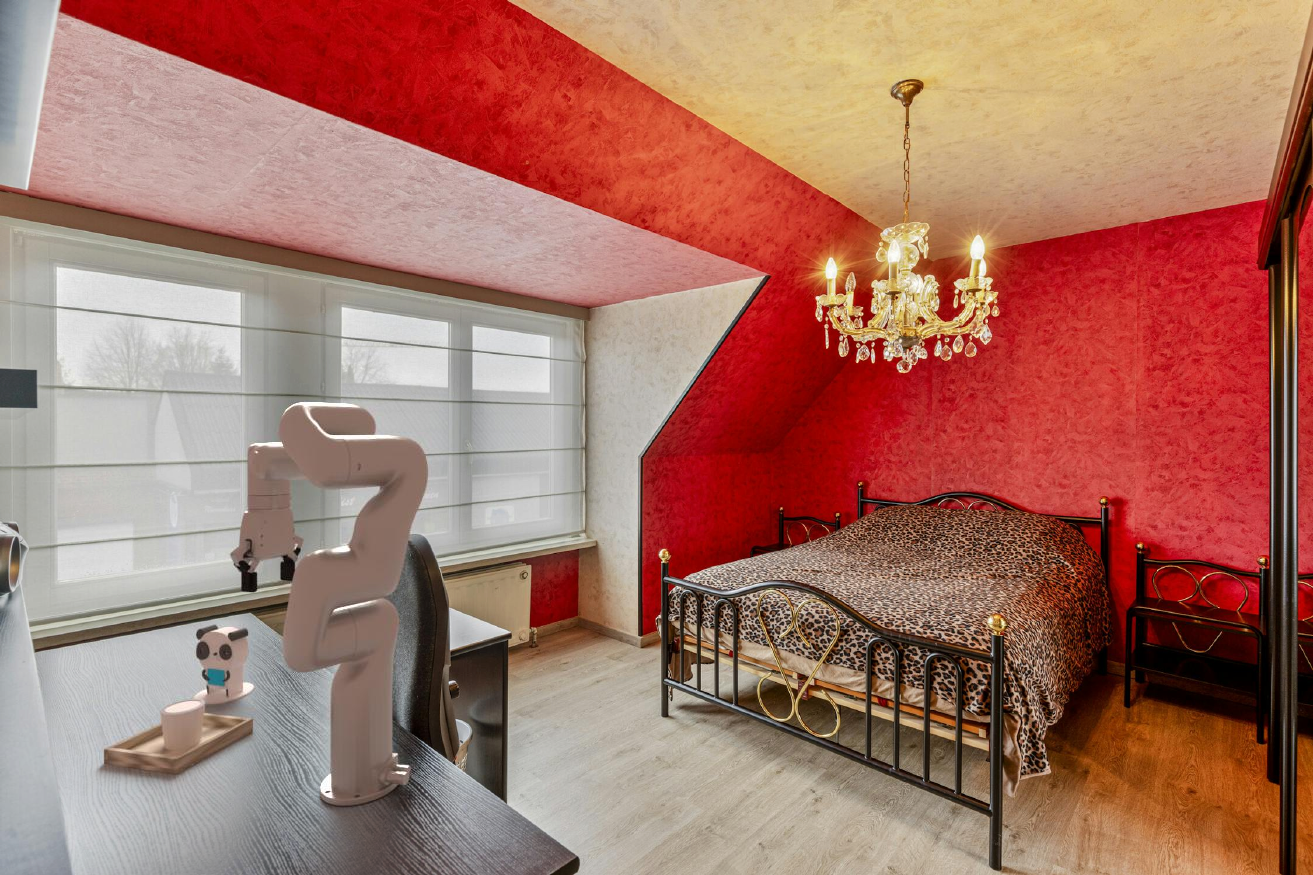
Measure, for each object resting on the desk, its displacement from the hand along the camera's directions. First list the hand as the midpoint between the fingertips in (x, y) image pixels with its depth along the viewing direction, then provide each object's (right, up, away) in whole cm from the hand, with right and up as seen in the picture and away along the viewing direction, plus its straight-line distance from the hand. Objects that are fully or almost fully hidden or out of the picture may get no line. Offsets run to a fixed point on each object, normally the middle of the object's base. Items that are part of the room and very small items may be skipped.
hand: (269, 585), depth 129 cm
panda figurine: (-20, -28, +15) cm, 37 cm away
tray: (-10, -28, -10) cm, 32 cm away
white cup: (-10, -28, -10) cm, 31 cm away
